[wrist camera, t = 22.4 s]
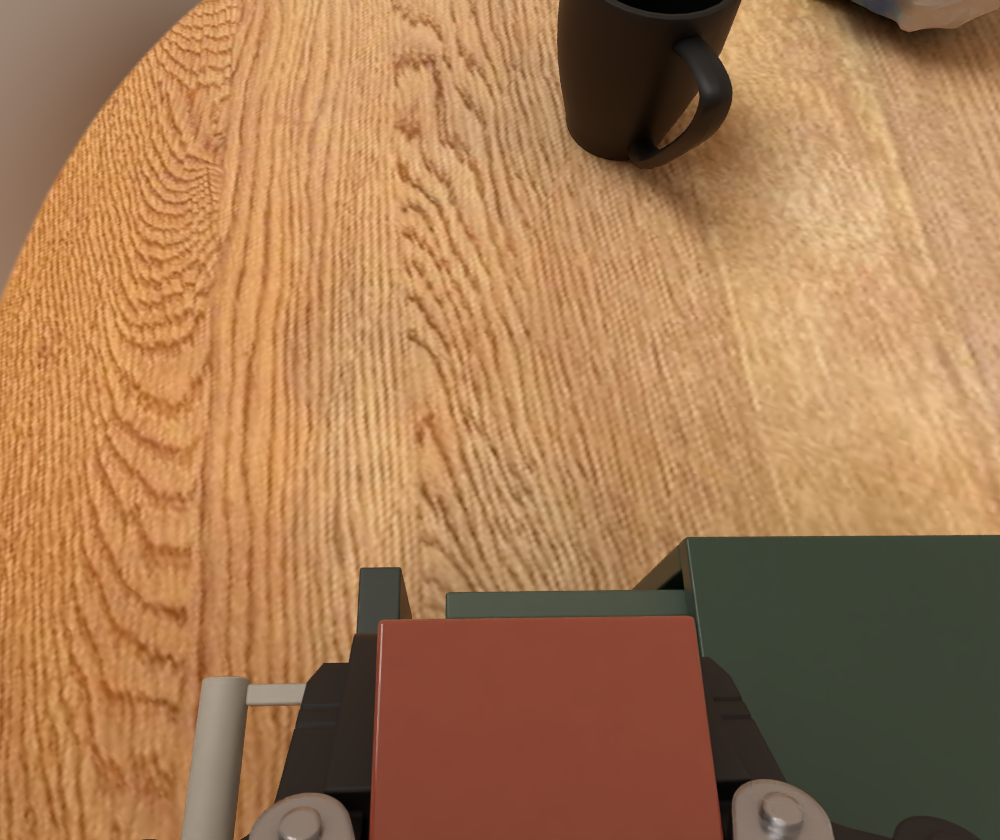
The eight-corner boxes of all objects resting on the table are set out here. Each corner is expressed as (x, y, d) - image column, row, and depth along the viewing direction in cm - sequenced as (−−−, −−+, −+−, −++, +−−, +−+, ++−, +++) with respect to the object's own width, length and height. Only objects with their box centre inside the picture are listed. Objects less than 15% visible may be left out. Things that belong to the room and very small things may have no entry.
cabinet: (651, 979, 25) (759, 1090, 17) (617, 602, 30) (685, 536, 22) (1087, 958, 26) (1403, 1051, 18) (981, 597, 32) (1183, 533, 23)
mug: (586, 246, 38) (627, 94, 29) (525, 80, 43) (545, -93, 34) (734, 222, 39) (814, 69, 31) (659, 63, 44) (711, -107, 36)
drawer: (209, 985, 24) (109, 1077, 17) (250, 618, 28) (186, 568, 21) (804, 957, 25) (944, 1031, 18) (747, 611, 30) (841, 562, 23)
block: (609, 897, 16) (747, 1004, 9) (400, 905, 15) (359, 1024, 8) (593, 679, 18) (695, 614, 10) (406, 682, 17) (377, 619, 10)
